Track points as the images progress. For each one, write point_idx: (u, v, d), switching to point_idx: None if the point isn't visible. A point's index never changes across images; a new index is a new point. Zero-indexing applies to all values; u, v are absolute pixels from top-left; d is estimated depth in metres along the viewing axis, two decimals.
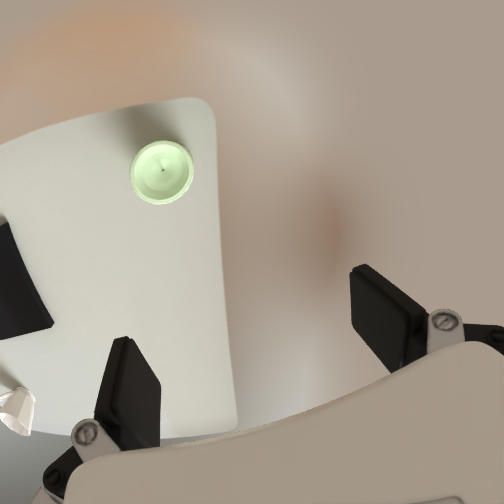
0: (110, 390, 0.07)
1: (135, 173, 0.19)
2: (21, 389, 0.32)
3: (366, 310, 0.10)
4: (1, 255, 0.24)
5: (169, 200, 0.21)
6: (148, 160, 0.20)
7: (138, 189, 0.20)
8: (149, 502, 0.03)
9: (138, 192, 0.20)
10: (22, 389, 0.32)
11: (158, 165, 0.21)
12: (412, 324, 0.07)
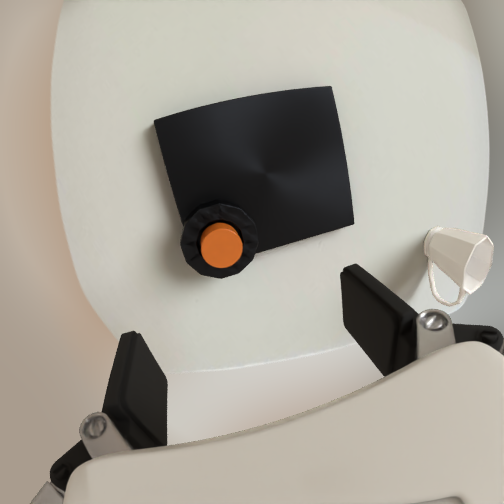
0: (119, 384, 0.07)
1: None
2: (427, 244, 0.29)
3: (356, 310, 0.10)
4: (204, 137, 0.20)
5: None
6: None
7: None
8: (149, 502, 0.03)
9: None
10: (427, 241, 0.29)
11: None
12: (400, 324, 0.07)
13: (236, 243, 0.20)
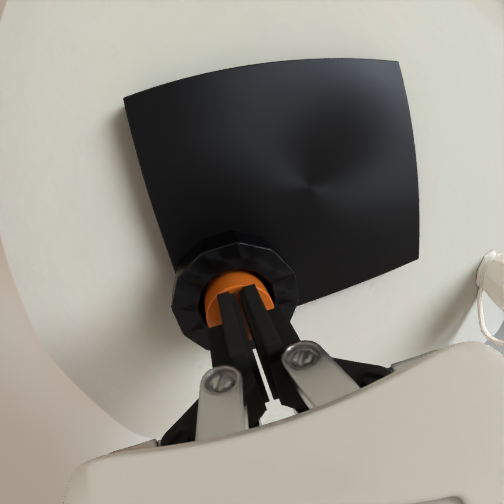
0: (239, 334, 0.09)
1: None
2: (481, 272, 0.21)
3: (250, 330, 0.11)
4: (208, 125, 0.11)
5: None
6: None
7: None
8: (149, 502, 0.03)
9: None
10: (482, 269, 0.21)
11: None
12: (266, 353, 0.08)
13: None
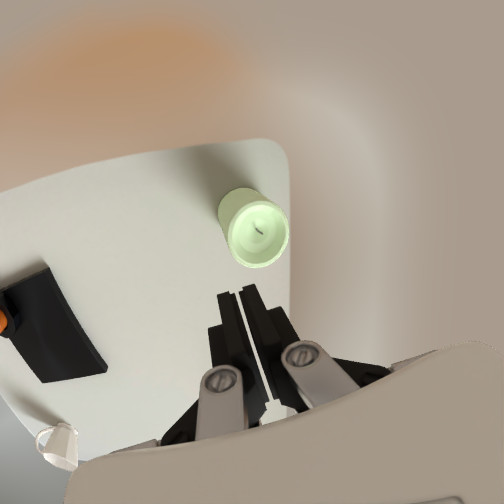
0: (239, 334, 0.09)
1: (233, 237, 0.20)
2: (63, 425, 0.33)
3: (250, 330, 0.11)
4: (44, 303, 0.25)
5: (267, 263, 0.21)
6: (243, 220, 0.21)
7: (237, 254, 0.20)
8: (149, 502, 0.03)
9: (237, 257, 0.20)
10: (64, 425, 0.33)
11: (252, 225, 0.21)
12: (266, 353, 0.08)
13: None
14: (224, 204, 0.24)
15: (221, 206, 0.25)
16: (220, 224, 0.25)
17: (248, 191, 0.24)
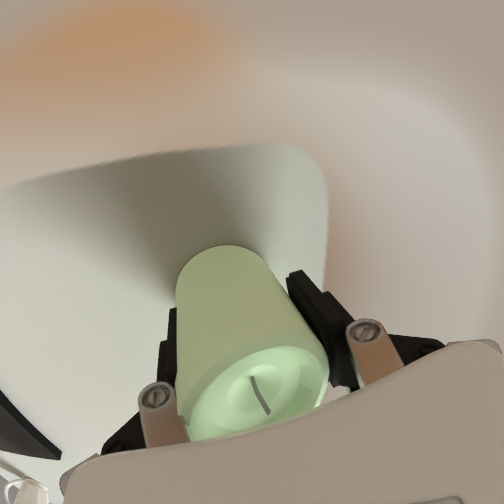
0: None
1: (193, 424, 0.06)
2: (30, 481, 0.19)
3: None
4: None
5: None
6: (220, 378, 0.07)
7: None
8: (149, 502, 0.03)
9: None
10: (31, 481, 0.19)
11: (243, 377, 0.08)
12: (329, 332, 0.08)
13: None
14: (183, 292, 0.11)
15: (179, 290, 0.12)
16: None
17: (237, 266, 0.11)
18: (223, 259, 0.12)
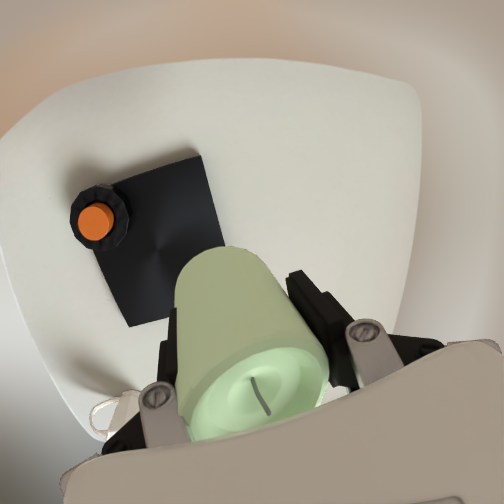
0: None
1: (194, 425, 0.06)
2: (131, 393, 0.33)
3: None
4: (183, 198, 0.25)
5: None
6: (221, 380, 0.07)
7: None
8: (149, 502, 0.03)
9: None
10: (133, 393, 0.33)
11: (243, 379, 0.08)
12: (329, 332, 0.08)
13: (98, 235, 0.21)
14: (183, 294, 0.11)
15: (178, 291, 0.12)
16: None
17: (237, 267, 0.11)
18: (223, 260, 0.12)
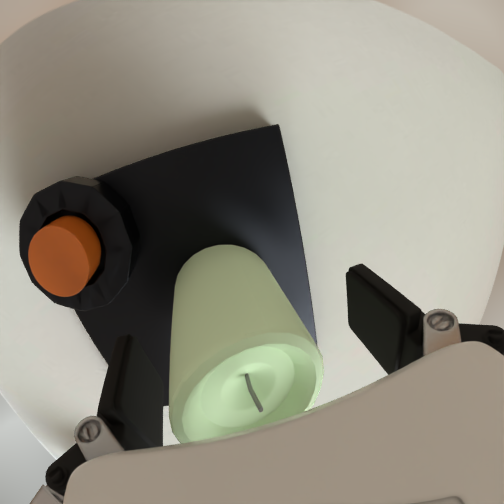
0: (113, 387, 0.07)
1: (186, 419, 0.07)
2: None
3: (362, 310, 0.10)
4: (243, 207, 0.13)
5: None
6: (213, 375, 0.07)
7: None
8: (149, 502, 0.03)
9: None
10: None
11: (237, 375, 0.08)
12: (407, 324, 0.07)
13: (69, 287, 0.09)
14: (181, 290, 0.11)
15: (177, 288, 0.12)
16: None
17: (235, 265, 0.11)
18: (221, 258, 0.12)
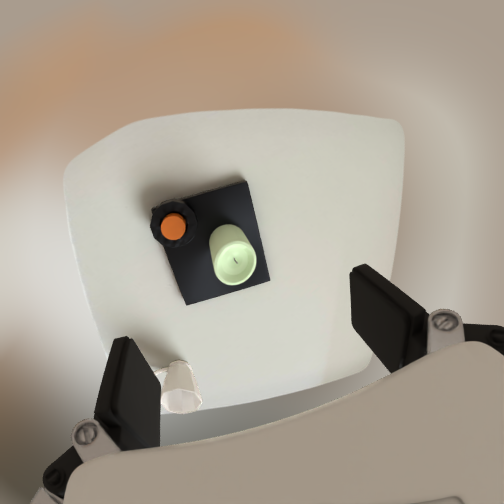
0: (110, 390, 0.07)
1: (217, 264, 0.30)
2: (178, 363, 0.45)
3: (366, 310, 0.10)
4: (234, 211, 0.37)
5: (240, 282, 0.32)
6: (225, 253, 0.31)
7: (220, 276, 0.31)
8: (149, 502, 0.03)
9: (220, 278, 0.31)
10: (180, 363, 0.45)
11: (231, 256, 0.32)
12: (412, 324, 0.07)
13: (176, 236, 0.33)
14: (214, 237, 0.35)
15: (212, 238, 0.36)
16: None
17: (231, 229, 0.35)
18: (227, 228, 0.35)
